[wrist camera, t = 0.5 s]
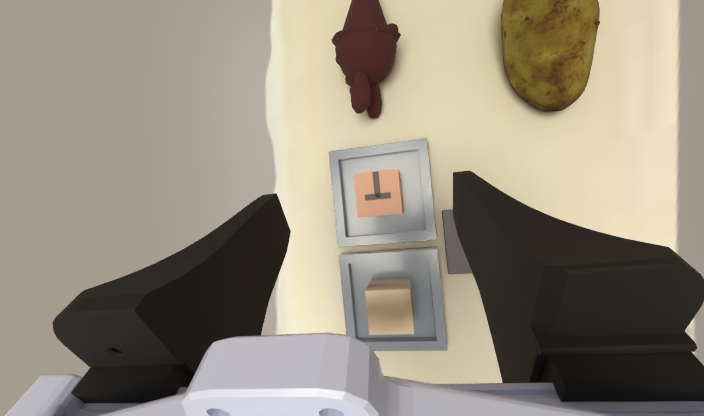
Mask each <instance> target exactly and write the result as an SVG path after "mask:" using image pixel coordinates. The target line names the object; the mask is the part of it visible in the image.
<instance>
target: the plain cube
mask: <svg viewBox="0 0 704 416" xmlns="http://www.w3.org/2000/svg"><path fill="white" fill-rule="evenodd" d="M365 296H366V306H367V316H368V327H369V335H389V334H414V313H413V303H412V293H411V283H410V278H400V279H380V280H371V281H370V283H369V284H368V286H367V288H366V290H365Z"/></svg>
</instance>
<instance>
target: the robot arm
mask: <svg viewBox="0 0 704 416" xmlns="http://www.w3.org/2000/svg"><path fill="white" fill-rule="evenodd" d="M453 218H454V222H455V226H456V230H457V234H458V238H459V240H460V243H461V245H462V248H463V250H464V253H465V255H466V258H467V260H468V263H469V265H470V268H471V270H472V273H473V275H474V278H475V280H476V283H477V286H478V288H479V291H480V295H481V298H482V302H483V306H484V309H485V313H486V316H487V320H488V324H489V328H490V332H491V336H492V339H493V344H494V348H495V352H496V356H497V360H498V364H499V368H500V372H501V377H502V381H503V383H488V384H430V383H424V382H418V381H412V380H406V379H400V378H394V377H388V376H383V374H382V371H381V367H380V363H379V359H378V357H377V356H376V355H375V353H374V352H373V350H372V349H371V348H370V346H368V345H367V344H366V343H364V342H362V341H360V340H358V339H355V338H353V337H351V336H349V335H342V334H333V333H310V334H286V335H261V332H262V327H263V323H264V319H265V314H266V310H267V306H268V302H269V299H270V296H271V293H272V290H273V288H274V285H275V282H276V280H277V277H278V274H279V271H280V269H281V266H282V263H283V260H284V258H285V255H286V252H287V247H288V243H289V237H290V229H289V226H288V223H287V221H286V218H285V215H284V212H283V210H282V207H281V204H280V201H279V199H278V196H277V194H268V195H262V196H261V197H259V198H257V199H256V200H255V201H253V202H252V203H250V204H249V205H248V206H246V207H245V208H244V209H242V210H241V211H240V212H238V213H237V214H236V215H235V216H233V217H232V218H230V219H229V220H228V221H226V222H225V223H224V224H222V225H221V226H219V227H218V228H216V229H215V230H214V231H212V232H211V233H209V234H208V235H206V236H205V237H203V238H201V239H200V240H198V241H197V242H195V243H193V244H191V245H190V246H188V247H186V248H185V249H183V250H181V251H179V252H177V253H175V254H173V255H171V256H169V257H167V258H165V259H163V260H161V261H159V262H157V263H155V264H153V265H150V266H148V267H146V268H144V269H141V270H139V271H137V272H134V273H131V274H129V275H126V276H124V277H121V278H119V279H116V280H113V281H110V282H107V283H104V284H101V285H99V286H96V287H93V288H90V289H87V290H84V291H83V292H81V293H80V294H79V295H78V296H77V297H76V298H75V299H74V300H73V301H72V302H71V303H70V304H69V305H68V306H67V307H66V308H65V309H64V310H63V311H62V312H61V313H60V314H59V315H58V316H57V317H56V318H55V319H54V321H53V330H54V333H55V335H56V337H57V338H58V339H59V340H60V341H61V342H62V343H63V344H64V345H65V346H66V347H67V348H68V349H69V350H71V351H72V352H73V353H74V354H75V355H77V356H78V357H79V358H80V359H81V360H83V361H84V362H85V363H86V364H87V365H88V366H89V367H91V368H90V369H89V370H88V372H87V373H86V374H85V375H84V377H81V376H78V375H73V374H53V375H42V376H40V377H39V378H38V379H37V381H36V382H35V383H34V384H33V385H32V386H31V387H30V388H29V390H27V392H26V393H25V394H24V395H23V396H22V397H21V398H20V400H19V401H18V402H17V403H16V404H15V405H14V406H13V407H12V408H11V410H9V412H8V413H7V414H6V415H5V416H704V366H703V365H702V363H701V362H700V361H699V360H698V359H697V358H696V357H695V355H694V354H693V353H692V352H693V351H695V350H696V349H697V346H696V343H695V342H694V341H693V340H692V339H691V338H690V337H689V336H688V335H687V334H686V332H685V329H686V328H687V326H688V325H689V324H690V322H691V321H692V319H693V318H694V316H695V315H696V313H697V312H698V310H699V309H700V307H701V306H702V304H703V301H704V279H703V277H702V276H701V274H700V273H698V272H697V271H696V270H695V269H694V268H692V267H691V266H690V265H689V264H688V263H687V262H686V261H684V260H683V259H682V258H681V257H680V256H679V255H677V254H676V253H675V252H674V251H673V250H671V249H670V248H669V247H665V246H660V245H655V244H650V243H644V242H639V241H634V240H629V239H624V238H620V237H616V236H612V235H608V234H604V233H600V232H597V231H593V230H590V229H586V228H583V227H580V226H577V225H574V224H571V223H568V222H565V221H562V220H559V219H557V218H554V217H552V216H549V215H547V214H544V213H542V212H540V211H538V210H535V209H533V208H531V207H529V206H527V205H525V204H523V203H521V202H519V201H517V200H515V199H514V198H512V197H510V196H508V195H507V194H505V193H503V192H502V191H500V190H498V189H497V188H495V187H494V186H492V185H491V184H489V183H488V182H486V181H485V180H483V179H482V178H480V177H479V176H477V175H476V174H474V173H473V172H471V171H463V172H454V173H453Z"/></svg>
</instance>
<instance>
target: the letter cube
mask: <svg viewBox="0 0 704 416" xmlns="http://www.w3.org/2000/svg"><path fill="white" fill-rule="evenodd" d="M354 183H355V194H356V204H357V214H358V218H360V217H371V216H382V215H393V214H402V213H403V212H404V211H403V201H402V191H401V180H400V172H399V170H398V169H390V170H382V171H373V172H365V173H356V174H354Z"/></svg>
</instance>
